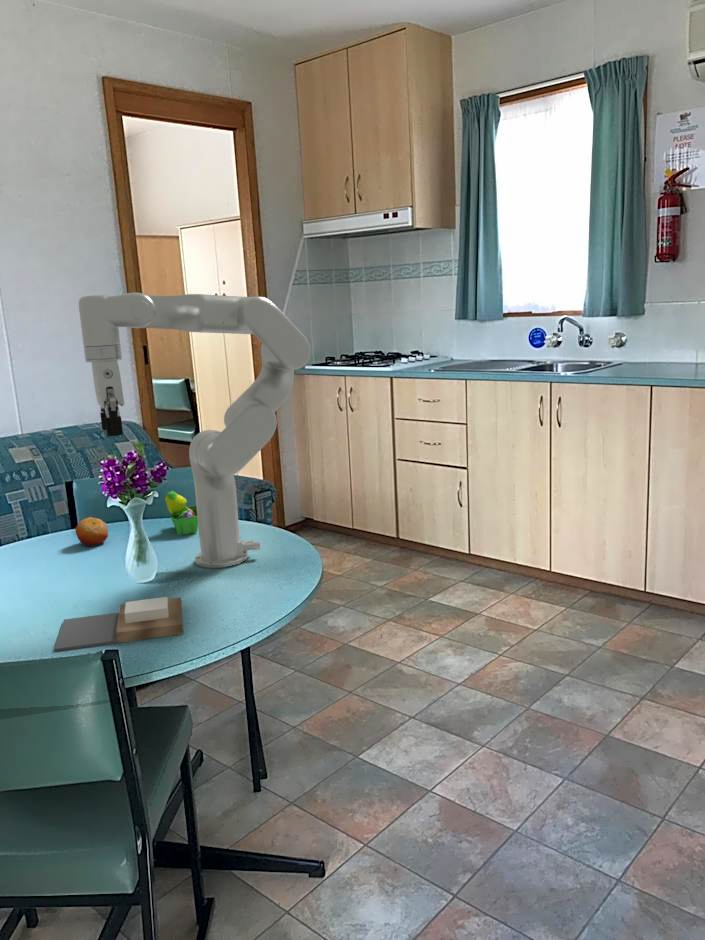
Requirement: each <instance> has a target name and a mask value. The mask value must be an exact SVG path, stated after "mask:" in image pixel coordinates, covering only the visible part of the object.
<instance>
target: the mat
mask: <svg viewBox="0 0 705 940" xmlns="http://www.w3.org/2000/svg"><path fill="white" fill-rule="evenodd" d="M118 617H119V611H118V612H109V613H103V614H97V615H95V614H94V615H88V616H82V617H81V616H80V617H72V618H65V619H63V621H62V625H61V626H60V631H59V635H58V637H57V640H56V643H55V647H54V652H61V650H62V651H67V650H68V651H69V650H75V649H83V648H91V647H98V646H105V645H112V644H118V643H117V636H116V631H117V624H118Z"/></svg>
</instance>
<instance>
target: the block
mask: <svg viewBox="0 0 705 940" xmlns="http://www.w3.org/2000/svg"><path fill="white" fill-rule="evenodd" d="M168 599H169V598H168V596H163V597H155V598H147V599H140V600H131V601H125V604H126V606H125V613H124V614H125V622H126V623H132V622H139V621H147V620H154V619H162V618H169V606H168Z"/></svg>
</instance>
